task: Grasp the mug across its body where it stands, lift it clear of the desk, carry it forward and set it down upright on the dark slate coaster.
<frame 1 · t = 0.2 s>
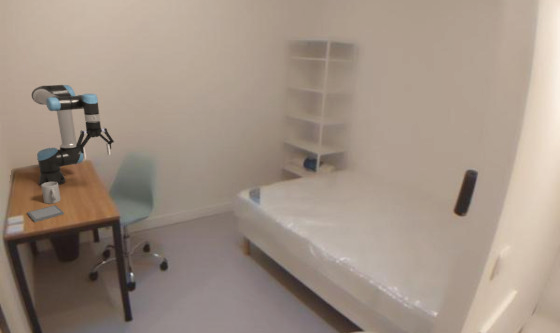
hand: (97, 156, 207), 28 cm above the table, fingers open, 13 cm apart
mug: (53, 202, 208), on the table
coaster: (45, 214, 193), on the table
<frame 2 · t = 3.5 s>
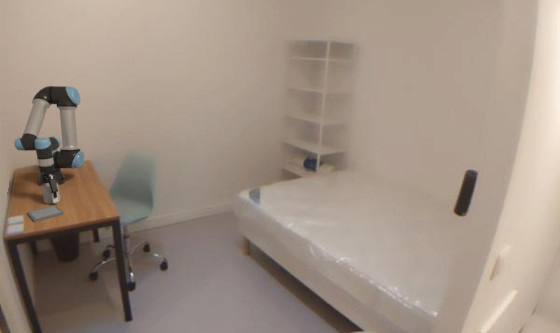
hand: (52, 199, 207), 2 cm above the table, fingers closed on mug, 12 cm apart
mug: (53, 202, 208), on the table, touching gripper
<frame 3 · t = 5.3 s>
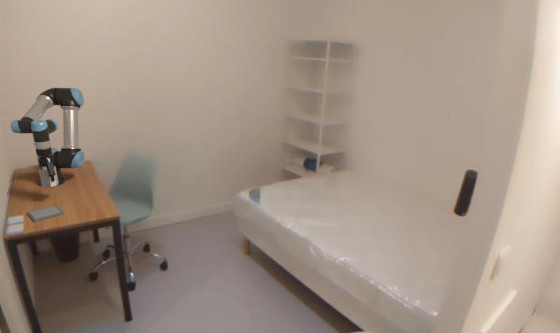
hand: (49, 182, 205), 12 cm above the table, fingers closed on mug, 12 cm apart
mug: (51, 186, 206), point 10 cm above the table, touching gripper
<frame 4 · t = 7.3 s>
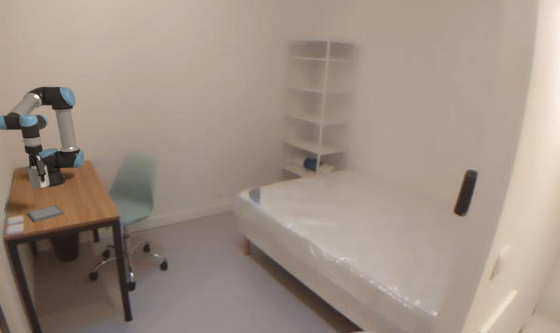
hand: (40, 183, 187), 18 cm above the table, fingers closed on mug, 12 cm apart
mug: (41, 186, 188), point 16 cm above the table, touching gripper
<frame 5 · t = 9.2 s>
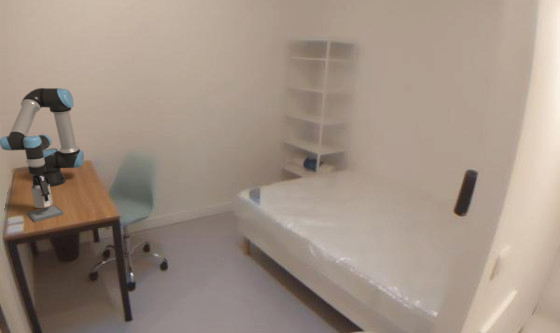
hand: (43, 202, 191), 7 cm above the table, fingers closed on mug, 12 cm apart
mug: (44, 205, 191), point 5 cm above the table, touching gripper
when the fingers open (4 cm above the table, at t = 10.9 s): mug drops 1 cm, resting on coaster.
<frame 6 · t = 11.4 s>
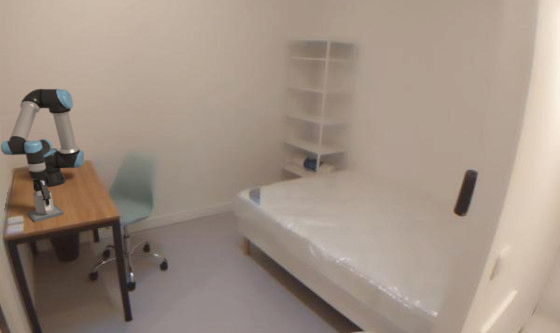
hand: (44, 206, 191), 5 cm above the table, fingers open, 13 cm apart
mug: (46, 212, 193), point 1 cm above the table, touching coaster
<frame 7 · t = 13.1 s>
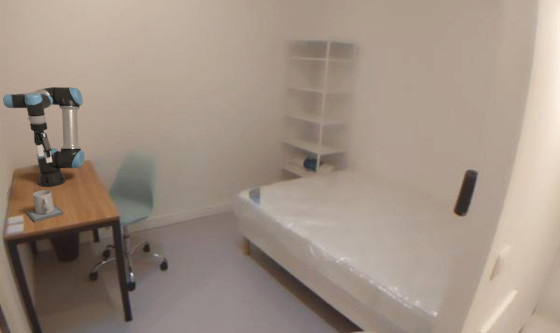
hand: (45, 159, 197), 28 cm above the table, fingers open, 13 cm apart
nothing on the table moved.
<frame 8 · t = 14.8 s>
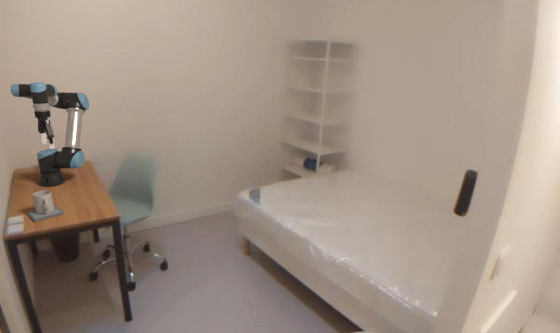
hand: (48, 146, 204), 33 cm above the table, fingers open, 13 cm apart
nothing on the table moved.
at the end: mug inside the target area on the coaster (0.4 cm from its centre), point 1.1 cm above the coaster's base; mug tilted 0°; the gripper is holding nothing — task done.
